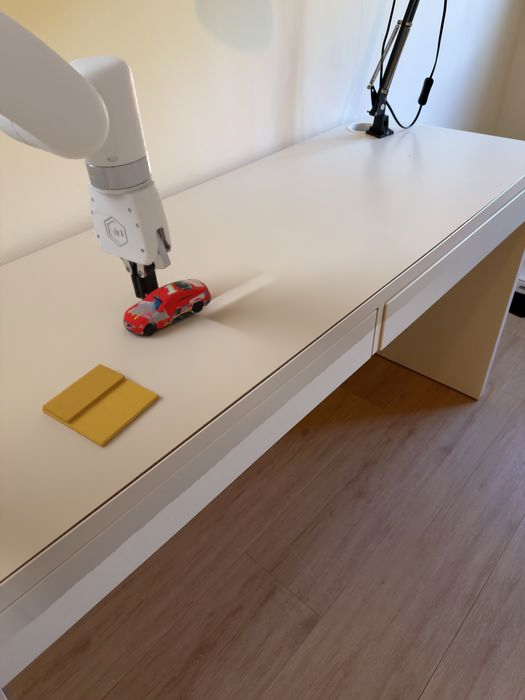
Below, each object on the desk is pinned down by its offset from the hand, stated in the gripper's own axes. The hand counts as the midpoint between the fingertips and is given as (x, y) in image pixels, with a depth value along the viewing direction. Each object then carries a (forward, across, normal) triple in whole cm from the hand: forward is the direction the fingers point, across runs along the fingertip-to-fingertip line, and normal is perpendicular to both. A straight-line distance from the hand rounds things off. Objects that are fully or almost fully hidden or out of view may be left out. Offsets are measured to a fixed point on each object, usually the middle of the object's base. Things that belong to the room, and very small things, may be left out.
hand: (147, 294), depth 77 cm
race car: (+2, +4, -1) cm, 5 cm away
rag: (+1, +10, -19) cm, 21 cm away
